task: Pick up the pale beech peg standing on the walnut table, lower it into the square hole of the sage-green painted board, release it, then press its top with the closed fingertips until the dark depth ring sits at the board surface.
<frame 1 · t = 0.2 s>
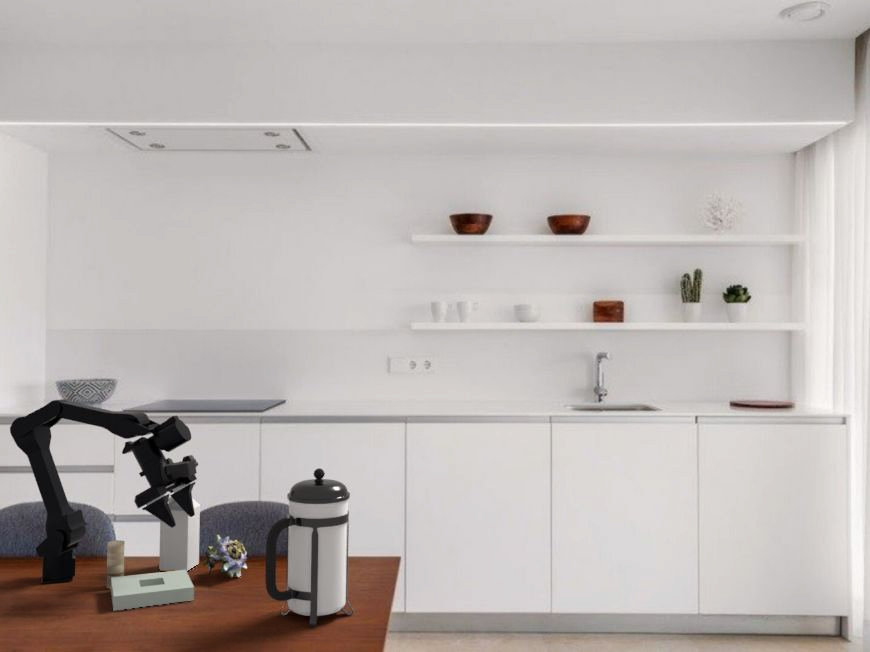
hand: (183, 521, 177), 14 cm above the table, tool tilted 30°, fingers open, 9 cm apart
peg: (115, 586, 174), on the table
coffee press: (313, 617, 157), on the table
milk carton: (179, 569, 189), on the table
passion flower: (223, 576, 184), on the table
board: (151, 596, 168), on the table
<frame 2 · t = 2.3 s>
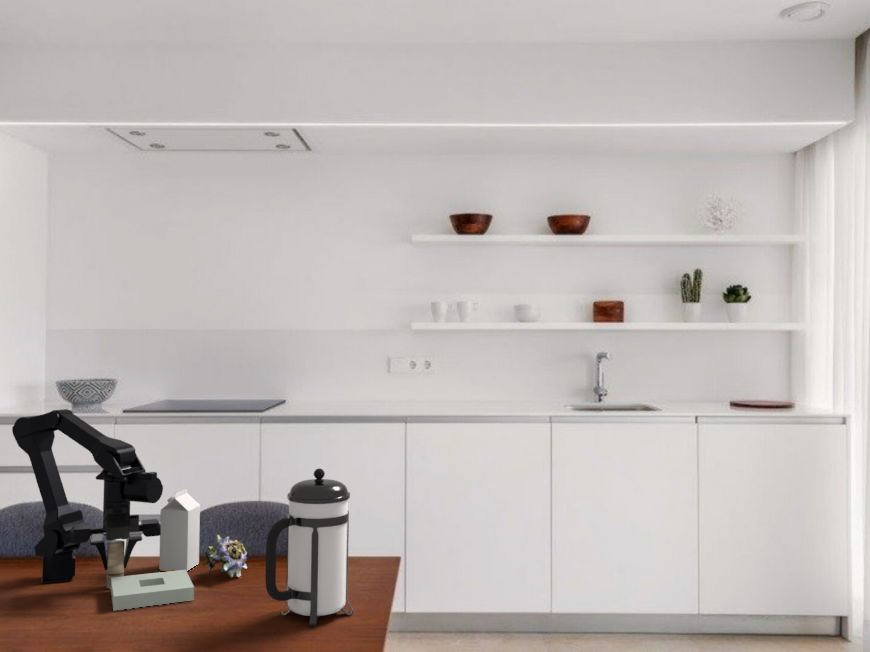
hand: (115, 568, 175), 4 cm above the table, tool pointing down, fingers closed on peg, 4 cm apart
peg: (115, 586, 174), on the table, touching gripper
everything else where it was.
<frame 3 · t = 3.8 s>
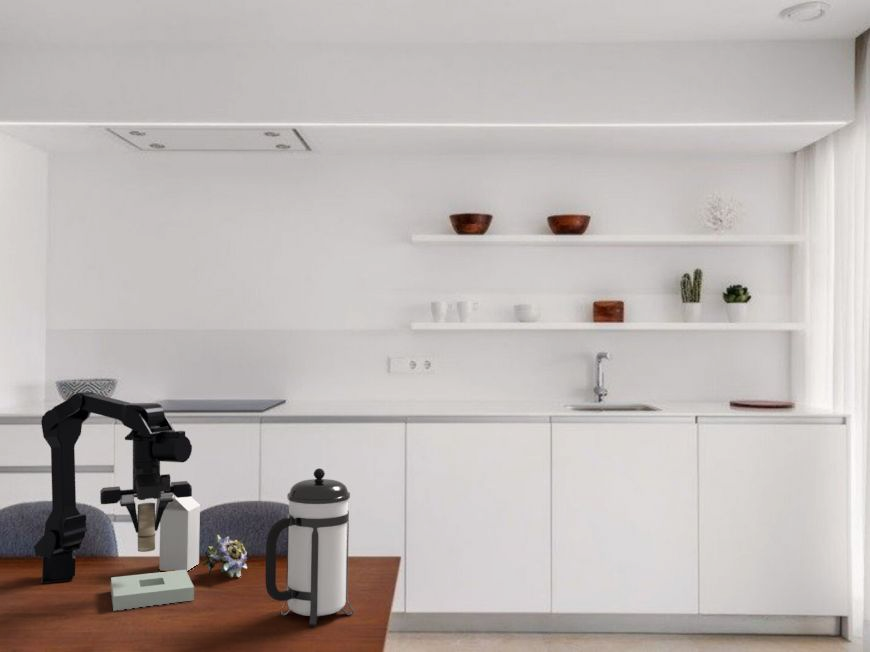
hand: (146, 531, 170), 14 cm above the table, tool pointing down, fingers closed on peg, 4 cm apart
peg: (146, 549, 170), point 10 cm above the table, touching gripper
everything else where it was.
when the fingers open (5 cm above the table, at t = 5.4 s): peg drops 1 cm, resting in board.
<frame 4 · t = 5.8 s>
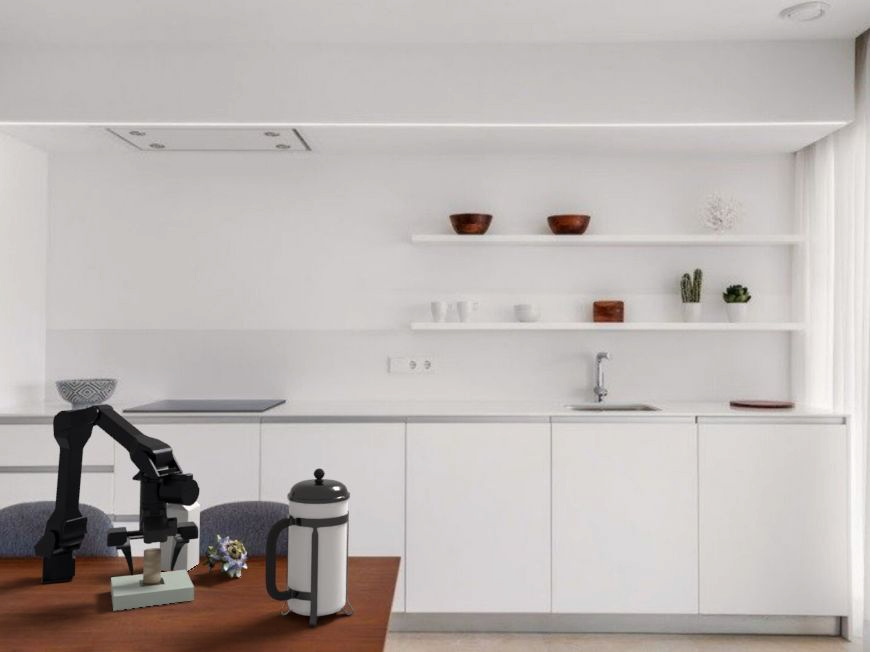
hand: (151, 573, 169), 5 cm above the table, tool pointing down, fingers open, 8 cm apart
peg: (151, 596, 168), resting in board
everything else where it was.
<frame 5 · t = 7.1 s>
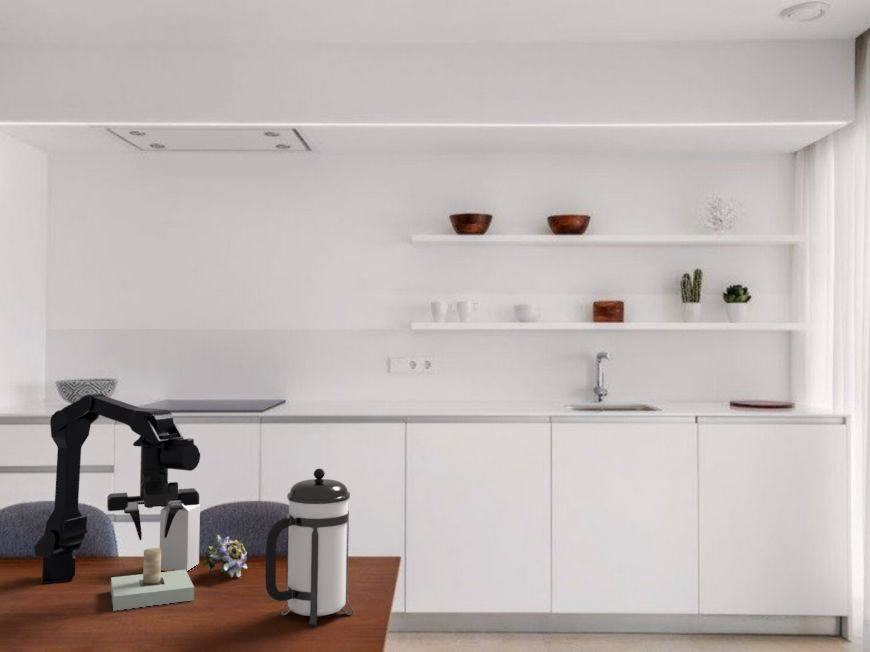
hand: (152, 538, 169), 12 cm above the table, tool pointing down, fingers open, 5 cm apart
nothing on the table moved.
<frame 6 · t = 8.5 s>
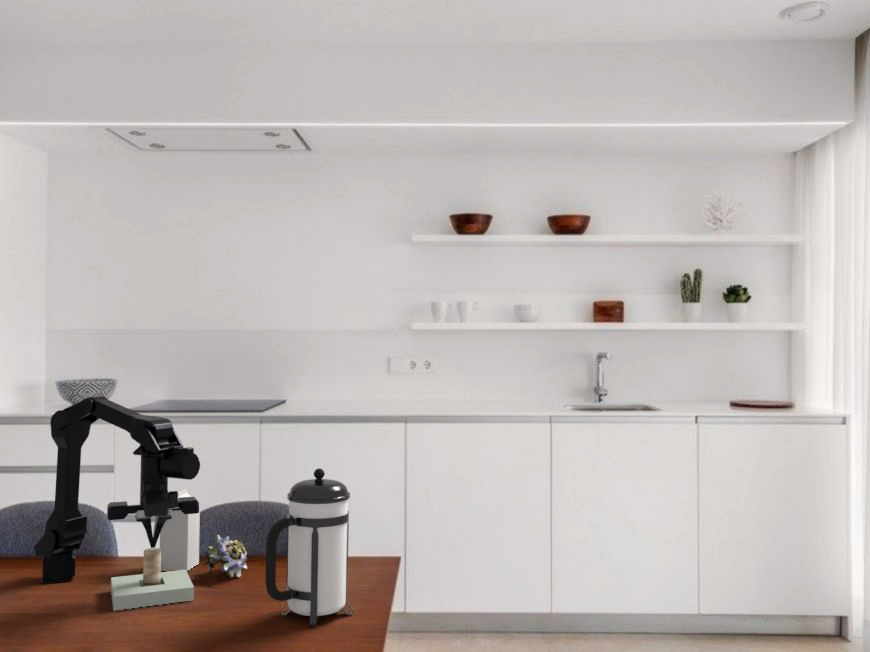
hand: (152, 547, 169), 11 cm above the table, tool pointing down, fingers closed
nothing on the table moved.
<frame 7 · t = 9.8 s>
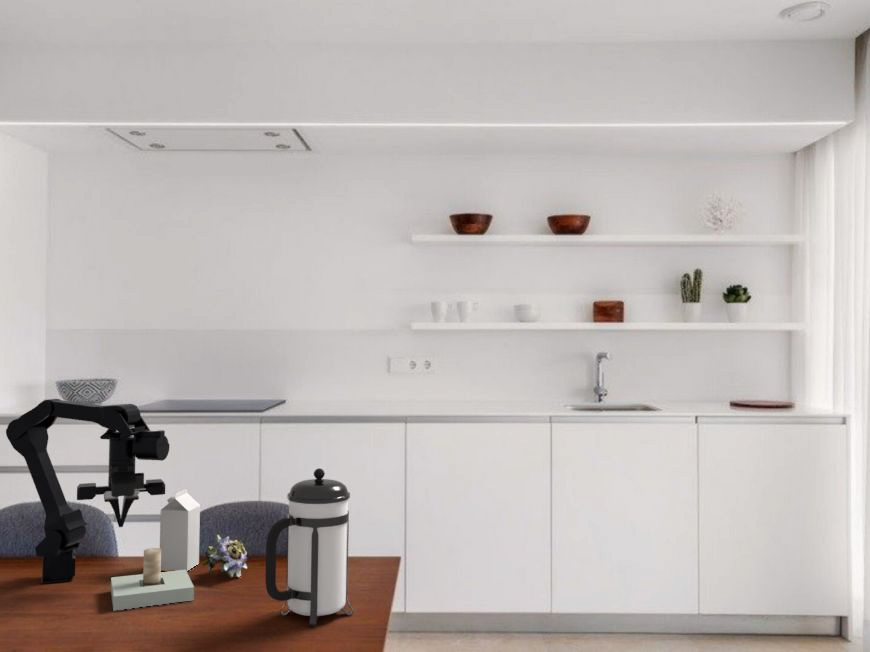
hand: (120, 526, 177), 13 cm above the table, tool pointing down, fingers closed
nothing on the table moved.
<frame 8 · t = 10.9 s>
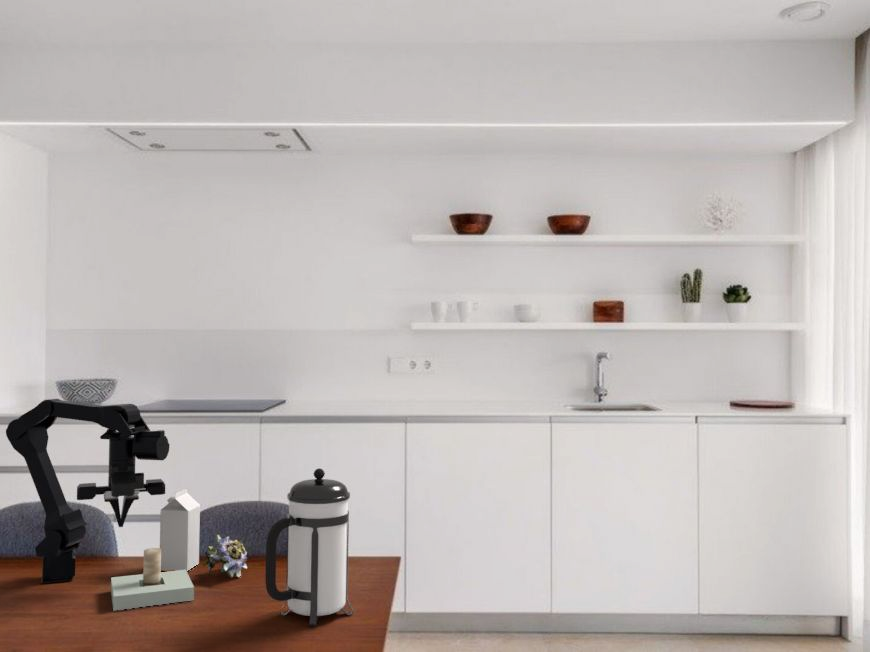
hand: (120, 526, 177), 13 cm above the table, tool pointing down, fingers closed
nothing on the table moved.
at the end: peg 0.0 cm off-centre on the board, point 0.0 cm above the board's base; peg tilted 0°; the gripper is holding nothing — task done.
